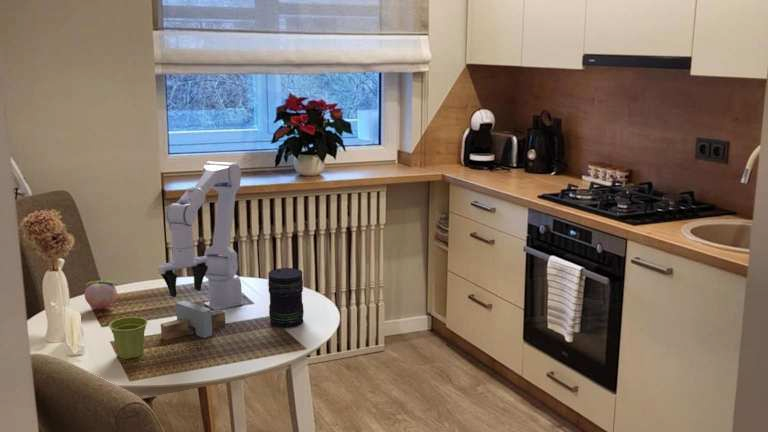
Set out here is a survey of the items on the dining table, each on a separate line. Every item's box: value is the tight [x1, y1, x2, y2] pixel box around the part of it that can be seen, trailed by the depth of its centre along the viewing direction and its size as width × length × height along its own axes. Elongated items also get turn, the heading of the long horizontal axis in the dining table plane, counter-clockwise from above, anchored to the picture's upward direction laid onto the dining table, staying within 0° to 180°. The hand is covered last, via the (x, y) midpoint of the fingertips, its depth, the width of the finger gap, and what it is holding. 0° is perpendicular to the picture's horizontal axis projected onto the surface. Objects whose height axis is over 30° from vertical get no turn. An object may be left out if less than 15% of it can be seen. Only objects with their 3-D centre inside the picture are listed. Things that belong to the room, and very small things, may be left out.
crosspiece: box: [175, 300, 213, 339], centre depth 214 cm, size 12×3×8 cm, turn 52°
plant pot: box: [108, 316, 148, 360], centre depth 198 cm, size 9×9×9 cm
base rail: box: [160, 309, 226, 341], centre depth 215 cm, size 18×3×4 cm, turn 129°
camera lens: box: [267, 267, 305, 329], centre depth 221 cm, size 10×10×15 cm
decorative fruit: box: [83, 277, 118, 310], centre depth 232 cm, size 9×8×10 cm
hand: (185, 293), depth 216 cm, fingers open, 7 cm apart
